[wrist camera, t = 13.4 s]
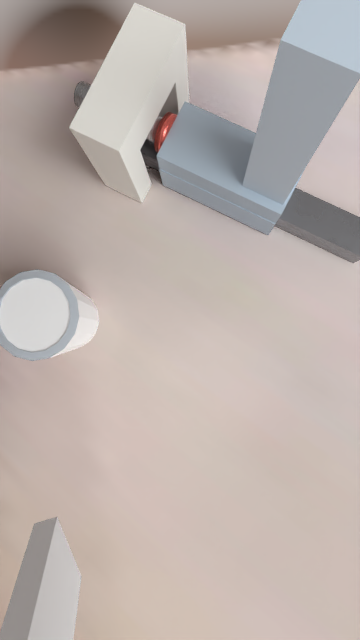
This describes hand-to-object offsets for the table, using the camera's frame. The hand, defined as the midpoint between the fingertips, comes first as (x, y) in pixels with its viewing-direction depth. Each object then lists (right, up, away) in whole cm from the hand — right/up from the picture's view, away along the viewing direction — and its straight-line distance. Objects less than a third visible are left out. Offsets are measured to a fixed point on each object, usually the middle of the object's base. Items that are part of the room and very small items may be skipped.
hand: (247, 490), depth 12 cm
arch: (-5, +23, +20) cm, 31 cm away
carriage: (+2, +19, +20) cm, 27 cm away
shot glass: (-13, +6, +20) cm, 25 cm away
